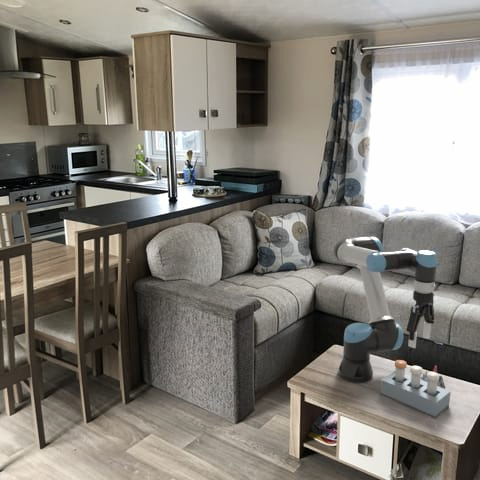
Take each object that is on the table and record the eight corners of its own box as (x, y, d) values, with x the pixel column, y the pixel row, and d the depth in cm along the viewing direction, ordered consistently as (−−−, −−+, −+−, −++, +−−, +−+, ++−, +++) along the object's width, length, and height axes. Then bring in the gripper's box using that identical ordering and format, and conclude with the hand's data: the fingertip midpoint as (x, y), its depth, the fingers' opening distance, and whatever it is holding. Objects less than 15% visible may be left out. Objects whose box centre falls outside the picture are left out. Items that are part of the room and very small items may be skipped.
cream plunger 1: (406, 387, 206) (408, 368, 204) (412, 383, 209) (414, 364, 207) (417, 392, 202) (419, 372, 200) (422, 388, 205) (424, 368, 203)
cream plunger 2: (423, 394, 201) (424, 374, 199) (428, 390, 204) (430, 370, 202) (434, 399, 197) (436, 378, 195) (439, 394, 201) (441, 374, 198)
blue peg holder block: (380, 394, 211) (381, 379, 210) (395, 384, 219) (396, 370, 218) (435, 418, 194) (436, 402, 193) (448, 406, 202) (450, 391, 201)
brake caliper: (453, 392, 208) (436, 369, 208) (429, 404, 212) (413, 382, 211) (448, 379, 219) (432, 357, 218) (426, 390, 223) (410, 369, 222)
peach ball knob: (391, 381, 211) (392, 362, 209) (397, 377, 214) (398, 358, 212) (401, 385, 207) (403, 366, 205) (407, 381, 210) (408, 362, 208)
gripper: (418, 300, 185) (413, 355, 190) (446, 285, 201) (441, 336, 206) (399, 295, 190) (395, 348, 196) (428, 281, 206) (424, 331, 211)
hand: (419, 342), depth 201 cm, fingers open, 11 cm apart
